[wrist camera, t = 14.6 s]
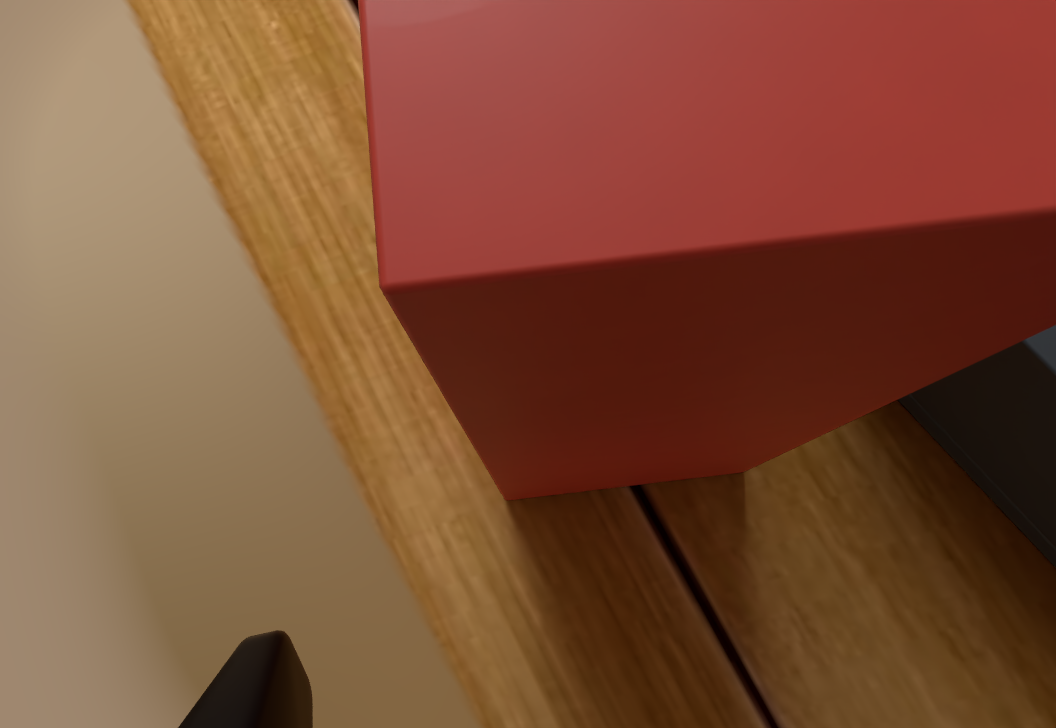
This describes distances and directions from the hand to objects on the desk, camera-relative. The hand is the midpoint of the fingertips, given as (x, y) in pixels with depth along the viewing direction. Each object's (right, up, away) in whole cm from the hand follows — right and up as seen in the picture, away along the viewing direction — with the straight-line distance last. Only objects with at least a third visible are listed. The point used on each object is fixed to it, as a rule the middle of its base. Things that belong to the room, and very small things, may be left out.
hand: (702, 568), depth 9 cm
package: (0, +3, +9) cm, 9 cm away
